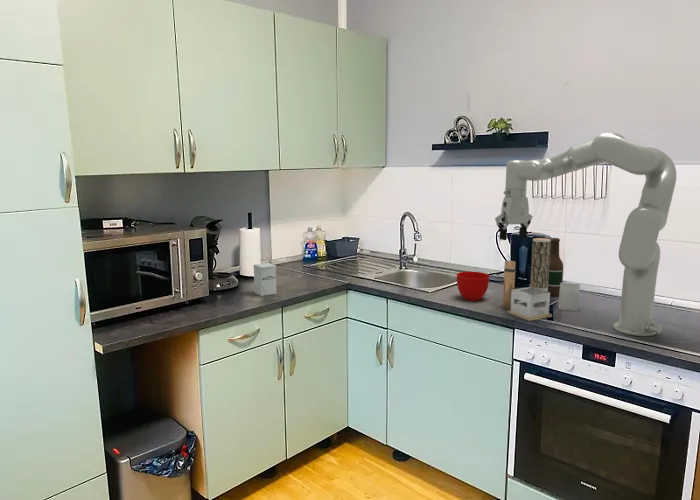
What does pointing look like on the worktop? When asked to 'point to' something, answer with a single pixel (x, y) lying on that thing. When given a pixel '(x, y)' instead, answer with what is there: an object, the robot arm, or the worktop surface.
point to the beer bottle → (555, 269)
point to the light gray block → (569, 296)
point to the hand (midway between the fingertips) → (512, 238)
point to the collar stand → (530, 303)
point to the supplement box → (265, 279)
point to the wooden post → (508, 283)
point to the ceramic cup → (472, 284)
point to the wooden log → (540, 263)
